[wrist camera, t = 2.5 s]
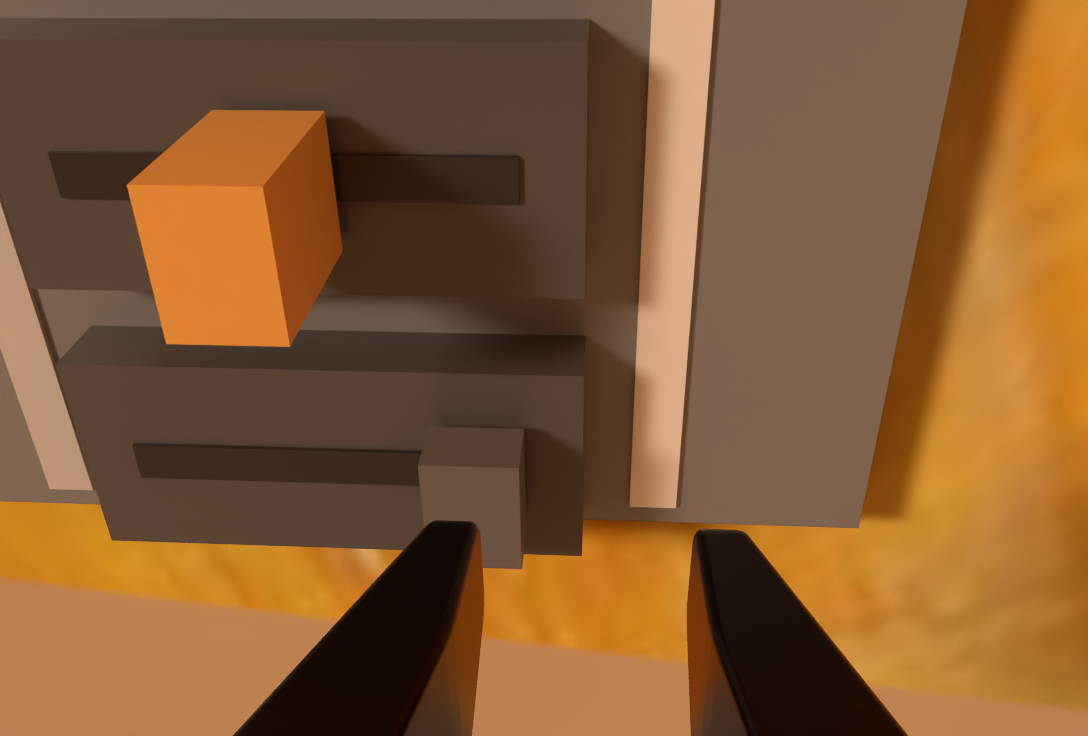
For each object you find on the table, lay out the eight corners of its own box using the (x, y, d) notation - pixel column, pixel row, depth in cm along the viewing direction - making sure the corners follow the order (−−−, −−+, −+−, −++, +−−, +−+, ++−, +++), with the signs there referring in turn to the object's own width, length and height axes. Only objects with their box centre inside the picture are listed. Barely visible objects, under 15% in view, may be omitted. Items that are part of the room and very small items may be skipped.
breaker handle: (342, 251, 17) (290, 346, 14) (238, 248, 17) (165, 344, 14) (324, 110, 15) (262, 187, 13) (211, 110, 16) (126, 184, 13)
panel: (844, 485, 23) (891, 632, 19) (8, 461, 24) (-108, 595, 20) (1027, -472, 14) (1185, -559, 10) (-327, -436, 15) (-650, -503, 11)
